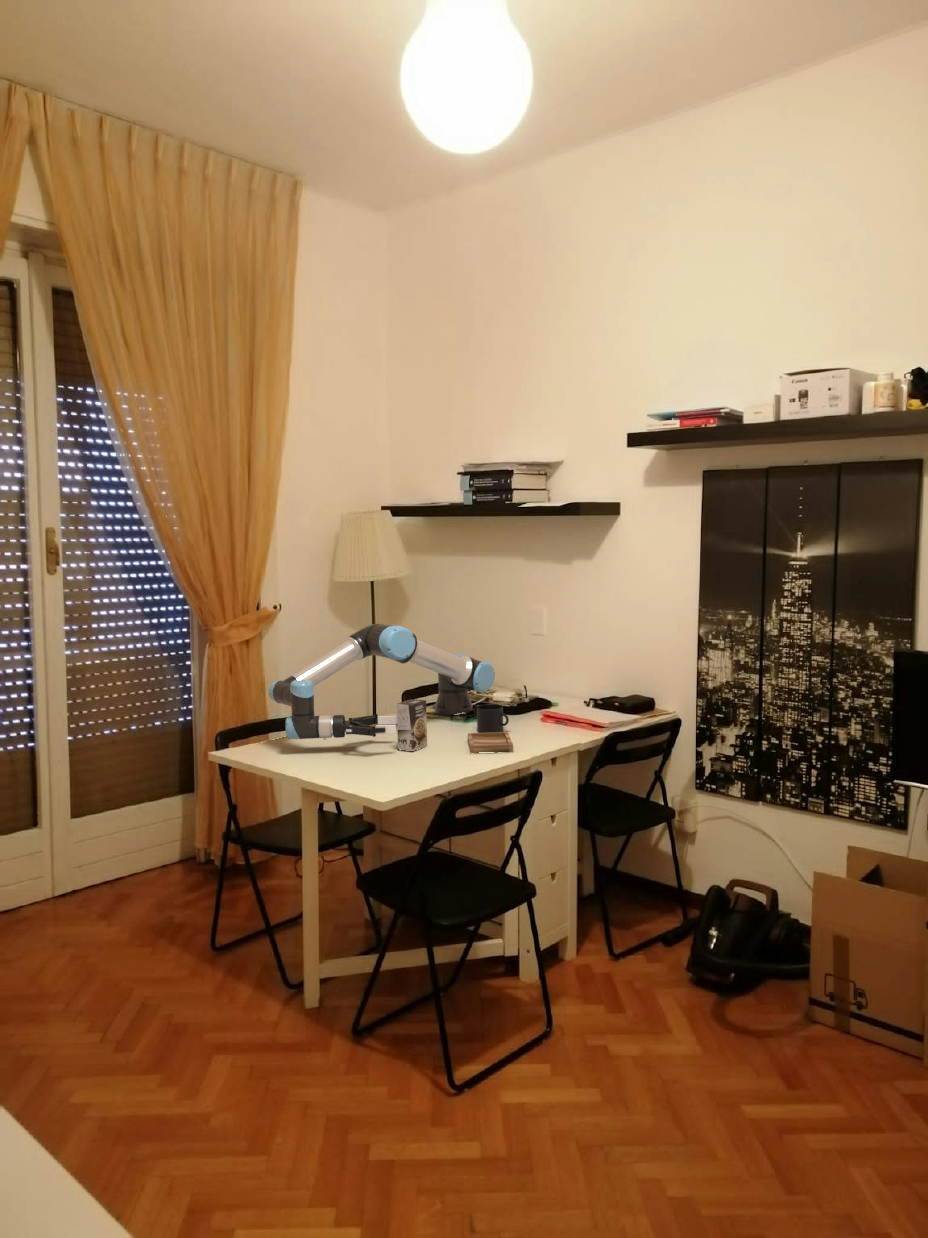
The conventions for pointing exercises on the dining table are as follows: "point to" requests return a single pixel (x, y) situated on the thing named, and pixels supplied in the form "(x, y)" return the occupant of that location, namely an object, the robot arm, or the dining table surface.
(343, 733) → the robot arm
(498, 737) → the tray
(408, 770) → the dining table surface
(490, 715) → the mug
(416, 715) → the coffee box
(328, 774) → the dining table surface
